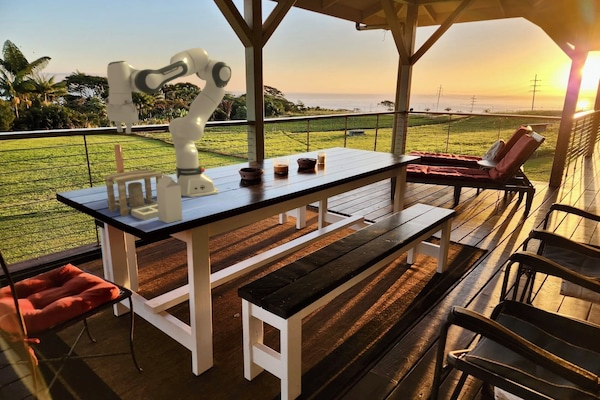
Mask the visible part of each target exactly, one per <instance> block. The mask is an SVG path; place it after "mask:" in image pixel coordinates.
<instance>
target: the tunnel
mask: <svg viewBox="0 0 600 400" xmlns="http://www.w3.org/2000/svg"><path fill="white" fill-rule="evenodd" d="M163 175H164V174H163V172H160V171H156V170H153V169H148V168H145V169H144V168H143V169H139V170H138V169H137V170H131V171H130V170H129V171H124V172H123V173H117V172H116V173H111V174H105V175H104V178H105V183H106V184H105V185H106V192H107V200H108V202H109V206H108V209H109V212H111V213H112V212H116V211H117V209H116V205H115V199H116V198H115V197H116V196H115V189H114V182H116V184H117V192H118V198H119V202H120V210H119V211H120V216H121V217H126V216H129V215H128V213H127V207H128V205H127V204H128V203H126V194H127V193H126V194H125V185H124V182H125V183H127V182H132V181H138V180H143V181H144V191H145V198H148V199H151V200H153V194H152V184H151V183H152V182H151V178H155V186H156V185H157V183H158V182H159V181H160V180H161V179H162V178H163Z"/></svg>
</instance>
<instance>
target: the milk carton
mask: <svg viewBox="0 0 600 400" xmlns="http://www.w3.org/2000/svg"><path fill="white" fill-rule="evenodd" d="M155 190H156V201H157V205H158V217H157V218H158V220H159V221H161V222H164V223H166V224H171V223H173V222H178V221H183V207H182V196H181V188H180V185H179V184H178V183H177V180H176V178H174V177H172V176H169V175H166V174H163V175H162V179H161V180H160V181H159V182H158V183H157V185H156V184H155Z"/></svg>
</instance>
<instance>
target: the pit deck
mask: <svg viewBox="0 0 600 400" xmlns="http://www.w3.org/2000/svg"><path fill="white" fill-rule="evenodd" d="M131 213H132V214H131V216H132V217H135V218H137V219H139V220H143V221H148V220H151V219H155V218H159V217H158V205H157V204H155V205H151V206H146V207H142V208H138V209H134V210H131Z"/></svg>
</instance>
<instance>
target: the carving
mask: <svg viewBox="0 0 600 400" xmlns="http://www.w3.org/2000/svg"><path fill="white" fill-rule="evenodd" d="M127 193H128V194H127V195H128V196H129V203H128V204H129V208H134V207H139V206H143V205H146V203H144V197H145V196H144V192H143V185H142V182H138V181H135V182H129V183H128V184H127Z"/></svg>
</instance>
